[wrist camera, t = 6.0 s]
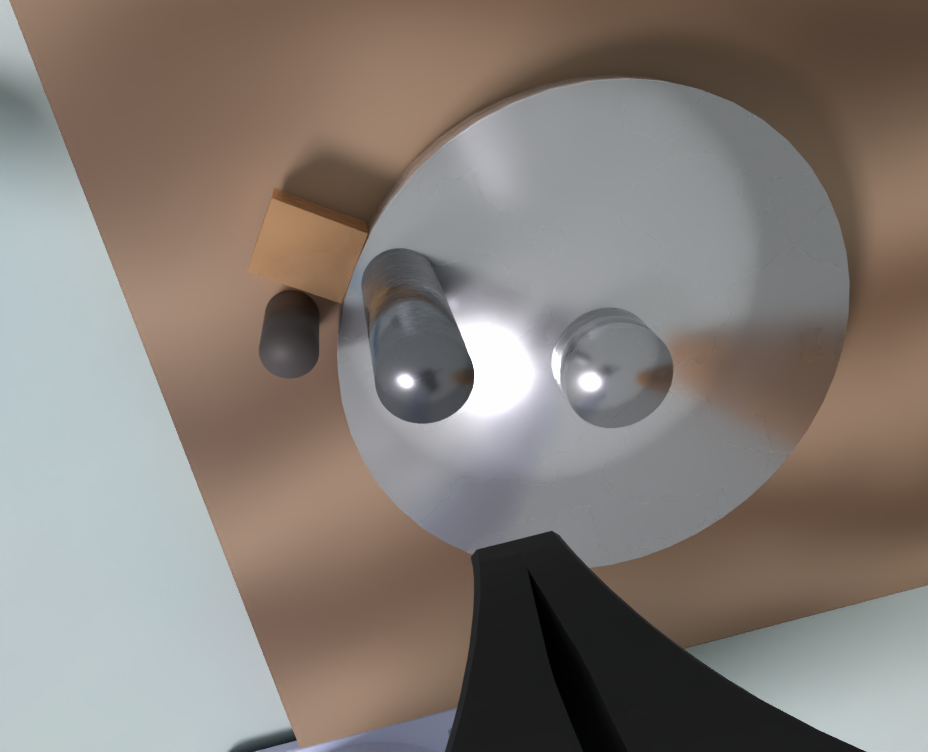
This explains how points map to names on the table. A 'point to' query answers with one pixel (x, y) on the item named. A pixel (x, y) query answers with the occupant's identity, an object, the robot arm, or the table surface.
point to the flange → (580, 315)
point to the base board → (358, 195)
